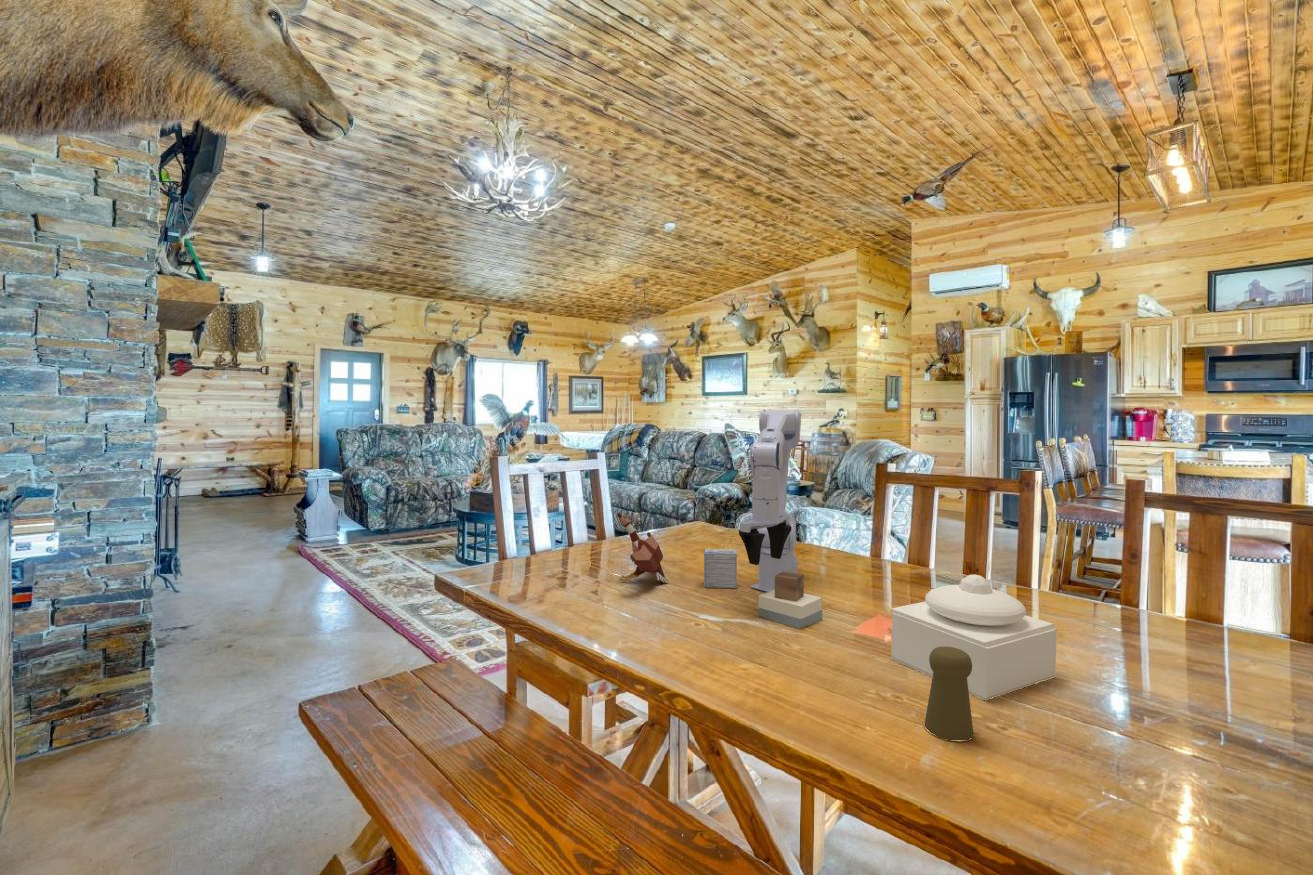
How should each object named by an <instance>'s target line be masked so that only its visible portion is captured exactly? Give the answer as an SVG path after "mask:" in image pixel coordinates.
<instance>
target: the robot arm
mask: <svg viewBox="0 0 1313 875" xmlns="http://www.w3.org/2000/svg"><path fill="white" fill-rule="evenodd" d="M801 414H802V413H801V411H800V409H784V410H783V409H763V408H762V409H761V410H760V412H759V418H758V421H759V422H758V424H759V425H758V428H759V436H758V439H757V441H756V442H754V444H751V445H750V449H749V462H750V463H749V464H750V468H751V469H750V476H751V477H752V492H751V494H752V495H751V497H752V502H751V504H752V506H751V508H752V511H751V513H752V514H751V516H748V519H746V520H744V521H741V522H740V521H739V522H740V523H739V524H740V527H739V530H738V536H739V537H740V539H741V541H742V542H743V545H744V547H745V552H746V554H747V559H748V563H749V565H750V564H751V565H754V566H758V583H755V584H751V585H750V588H752V589H756V590H759V591H761V592H762V591H763V592H765V593H767V592H770V591H772V590H775V576H776V575H778V574H779V573H781V572H783V571H784V572H791V573H798V574H799V571H798V570H799V561H798V557H797V555H796V553H795V552H794V550H796V546H797V521H796V519H795V518H794V516H792V515H791V514H790V513H789V512H788V511H786V507H787V506H786V504H787V493H788V492H787V490H788V477H789V476H788V475H789V462H790V456H791V452H792V450H793V449H794V448H796V447H798V446H799V442H800V439H801V427H802V426H801V425H802V417H801V416H802V415H801Z"/></svg>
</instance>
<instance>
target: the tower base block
mask: <svg viewBox="0 0 1313 875" xmlns="http://www.w3.org/2000/svg"><path fill="white" fill-rule="evenodd" d="M758 617H761V618H763V619H767V620H771V621H773V622H775V623H778V624H783V625H785V626H789V627H792V628H795V629H798V630H799V629H803V628H805V627H807V626H810V625H812V624H813V625H814V624H815V623H818V622H819V621H823V609H822V610H820V611H818V612H816V613H814V614H811V615H809V616H807V617H805V618H803V619H799V618H795V617H791V616H788V615H784V614H780V613H777V612H773V611H769V610H766V609H762V608H759V607H758Z"/></svg>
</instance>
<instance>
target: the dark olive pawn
mask: <svg viewBox="0 0 1313 875" xmlns="http://www.w3.org/2000/svg"><path fill="white" fill-rule="evenodd" d="M929 663H930V667H931V669H932V671H933V677H931V684H930V690H929V697H928V701H927V706H926V713H925V718H924V723H925V727H926V728H927V729H928V730H929V731H930V732H931V733H933V734H935V735H936V736H938V737H940V738H943V739H947V740H969V739H970V738H972V737H973V735H975V734H974V727H973V716H972V709H971V702H970V694H969V690H968V682H967V677H968V676H969V675H970V674H971V671H972V662H971V658H970V657H969V655H968V654H967V653H966V652H964V651H962V650H960V649H957V648H954V647H946V646H942V647H937V648H934V649H933V650H932V652H931V653H930V656H929ZM925 727H924V728H925ZM940 738H939V739H940ZM973 738H974V737H973ZM943 739H942V740H943Z"/></svg>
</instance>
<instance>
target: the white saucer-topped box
mask: <svg viewBox="0 0 1313 875" xmlns="http://www.w3.org/2000/svg"><path fill="white" fill-rule="evenodd" d="M924 597H925V598H924V601H921V602H917V603H912V604H911V603H910V604H905V605H902V606H896V607H892V608H890V614H891V615H892V617H891V618H892V619H891V655H890V656H891V657H890V658H891V660H892V661H894V662H897V663H899V664H902V665H904V666H906V667H908V668H910V669H912V668H913V669H912V670H914V669H915V670H914V671H917V672H919V671H920V672H919V673H922V674H923V673H924V675H925V674H926V675H925V676H928V677H930V678H932V677H933V671H932V669H931V667H930V663H929V656H930V653H931V652H932V650H933V649H934V648H937V647H942V646H946V647H954V648H957V649H960V650H962V651H964V652H966V653H967V654H968V655H969V657H970V658H971V662H972V671H971V674H970V675H969V676H968V677H967V682H968V690H969V695H970V694H971V695H970V696H972V695H975V696H977V697H980V698H981V699H984V700H988V699H990V698H992V697H995V696H998V695H1003V696H1005V695H1004V694H1006V693H1009V692H1012V691H1015V690H1018V689H1020V688H1023V687H1025V686H1029V685H1031V684H1034V683H1036V682H1039V681H1041V680H1046V679H1049V678H1051V677H1054V676H1055V677H1056V664H1057V663H1056V662H1057V661H1056V659H1057V658H1056V657H1057V639H1058V638H1057V635H1058V634H1057V632H1058V630H1057V628H1055V627H1054V624H1055V623H1053V622H1049V621H1045V620H1042V619H1038V618H1035V617H1032V616H1029V615H1026V613H1027V610H1026V607H1025V605H1024V604H1023V603H1022V602H1021V601H1019V600H1018V599H1017V598H1015V597H1014V596H1012V595H1010V594H1008V593H1005V592H1002V591H1000V590H997V589H994V588H992V587H991V583H990V581H988V580H987V579H986V578H985V577H983V576H982V575H979V574H968V575H967V576H964V578H962V579H961V580H960V583H959V584H947V585H943V586H941V585H940V586H938V587H936V588H932V589H931V590H929V591H928V592H927V593H926V594H925V596H924ZM1018 691H1019V690H1018ZM1015 692H1016V691H1015ZM1012 693H1013V692H1012ZM1009 694H1010V693H1009ZM1006 695H1007V694H1006ZM981 699H980V700H981Z"/></svg>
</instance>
